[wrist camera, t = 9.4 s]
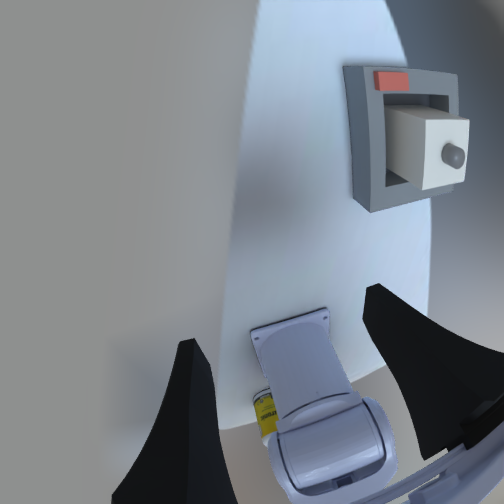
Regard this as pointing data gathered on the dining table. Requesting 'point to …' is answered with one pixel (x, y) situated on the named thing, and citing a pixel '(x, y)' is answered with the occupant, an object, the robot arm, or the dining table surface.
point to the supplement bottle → (265, 414)
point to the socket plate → (373, 127)
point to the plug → (425, 145)
